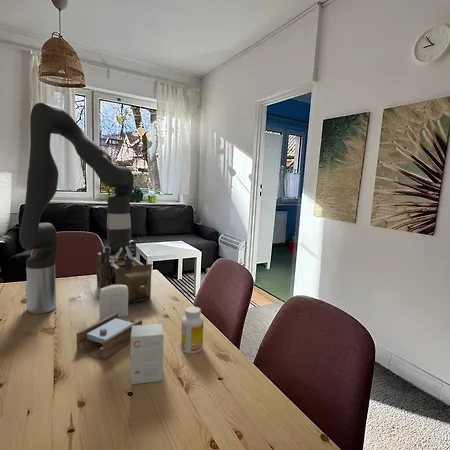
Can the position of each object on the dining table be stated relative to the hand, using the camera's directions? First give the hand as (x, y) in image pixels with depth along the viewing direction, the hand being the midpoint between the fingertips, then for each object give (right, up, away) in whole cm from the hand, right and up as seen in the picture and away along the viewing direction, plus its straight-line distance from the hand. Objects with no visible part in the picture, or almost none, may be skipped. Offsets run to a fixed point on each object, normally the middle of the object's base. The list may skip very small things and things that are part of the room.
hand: (119, 273), depth 104 cm
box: (0, -21, -8) cm, 22 cm away
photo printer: (-5, -18, +9) cm, 21 cm away
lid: (0, -18, -8) cm, 19 cm away
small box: (+15, -24, -23) cm, 37 cm away
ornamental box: (-7, -15, +30) cm, 34 cm away
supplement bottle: (+26, -22, -9) cm, 35 cm away
